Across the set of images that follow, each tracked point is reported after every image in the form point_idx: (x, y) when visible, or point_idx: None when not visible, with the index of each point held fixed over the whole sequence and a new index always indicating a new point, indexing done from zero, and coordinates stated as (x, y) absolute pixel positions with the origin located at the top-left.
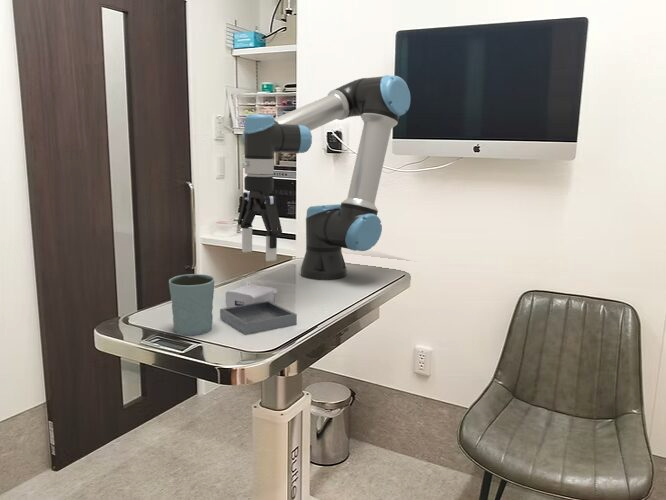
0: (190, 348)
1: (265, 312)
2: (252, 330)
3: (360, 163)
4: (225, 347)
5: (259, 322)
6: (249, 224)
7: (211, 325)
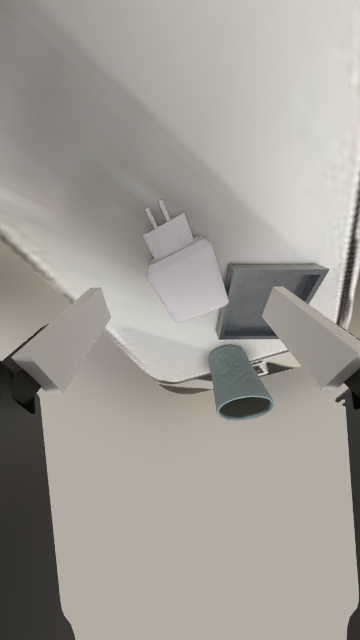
0: (264, 368)
1: (252, 287)
2: None
3: None
4: (288, 352)
5: None
6: (4, 390)
7: (242, 350)
